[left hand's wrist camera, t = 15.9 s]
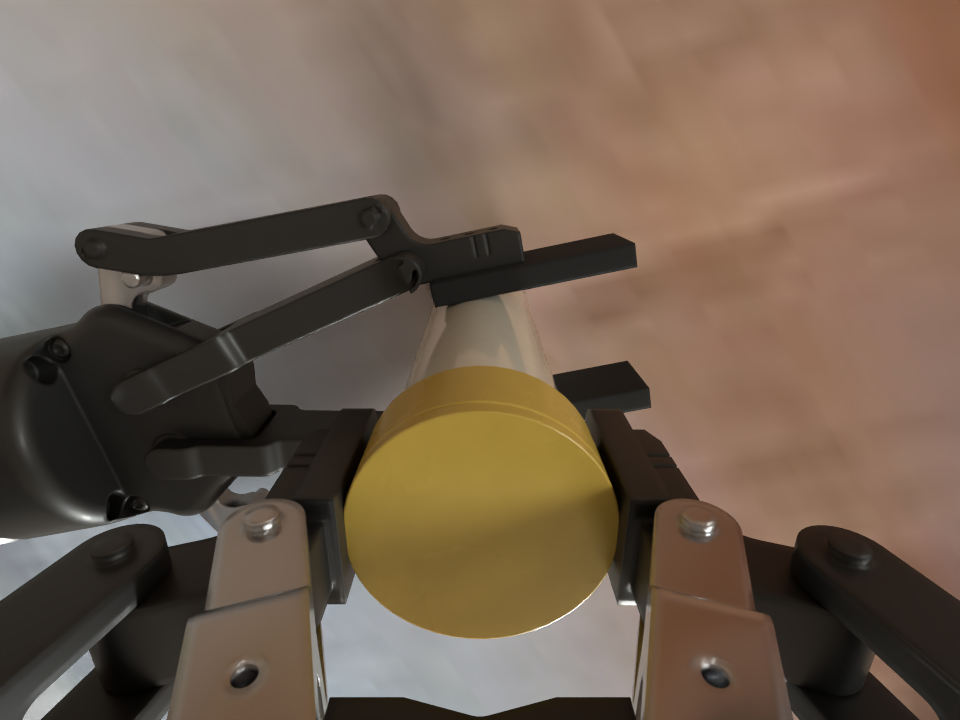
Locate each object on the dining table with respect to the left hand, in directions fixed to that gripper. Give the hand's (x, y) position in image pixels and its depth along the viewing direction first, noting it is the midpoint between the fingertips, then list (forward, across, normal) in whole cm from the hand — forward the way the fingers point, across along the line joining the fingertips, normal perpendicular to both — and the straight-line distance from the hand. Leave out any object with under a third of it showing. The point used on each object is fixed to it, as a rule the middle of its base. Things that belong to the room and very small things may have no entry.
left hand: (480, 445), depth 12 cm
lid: (-3, 0, 0) cm, 3 cm away
